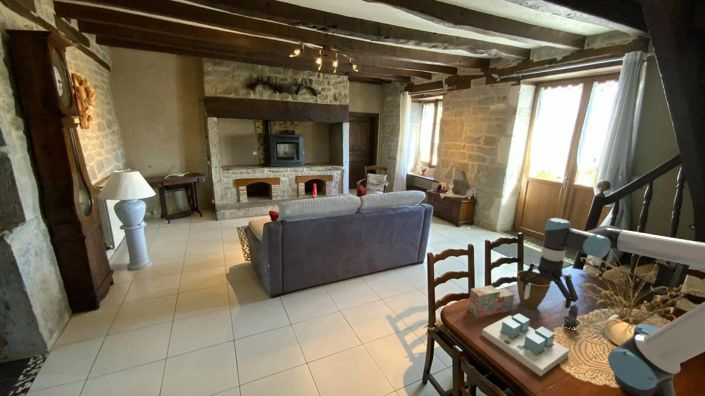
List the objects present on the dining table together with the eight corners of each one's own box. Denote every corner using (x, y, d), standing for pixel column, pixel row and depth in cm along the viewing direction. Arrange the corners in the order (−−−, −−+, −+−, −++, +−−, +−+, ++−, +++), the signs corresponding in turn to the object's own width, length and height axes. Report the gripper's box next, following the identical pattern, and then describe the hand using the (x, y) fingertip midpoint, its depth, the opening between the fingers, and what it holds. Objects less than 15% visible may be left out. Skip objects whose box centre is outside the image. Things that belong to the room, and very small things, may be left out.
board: (567, 356, 117) (569, 349, 116) (540, 376, 107) (542, 368, 106) (509, 320, 138) (510, 314, 137) (481, 334, 128) (482, 328, 127)
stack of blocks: (502, 303, 151) (506, 282, 148) (512, 311, 145) (515, 289, 142) (467, 310, 145) (470, 288, 142) (476, 317, 140) (479, 295, 137)
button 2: (528, 329, 127) (530, 319, 126) (521, 333, 125) (523, 323, 124) (517, 322, 131) (518, 313, 130) (510, 326, 129) (512, 316, 128)
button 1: (518, 334, 124) (520, 324, 123) (511, 338, 121) (513, 328, 120) (507, 327, 128) (509, 318, 127) (500, 331, 126) (502, 321, 124)
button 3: (543, 350, 115) (545, 339, 114) (536, 354, 113) (538, 343, 112) (530, 342, 120) (532, 331, 118) (523, 346, 117) (525, 335, 116)
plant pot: (506, 298, 156) (510, 271, 152) (529, 295, 158) (534, 269, 155) (527, 315, 141) (532, 286, 138) (553, 312, 144) (559, 283, 140)
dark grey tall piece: (580, 332, 131) (586, 308, 128) (566, 330, 132) (571, 307, 129) (573, 323, 136) (578, 301, 133) (559, 321, 137) (564, 299, 134)
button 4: (552, 343, 119) (554, 333, 118) (546, 348, 116) (548, 337, 115) (540, 336, 123) (542, 326, 122) (533, 340, 121) (535, 330, 119)
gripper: (595, 267, 105) (584, 318, 110) (523, 245, 125) (517, 289, 130) (587, 272, 101) (577, 325, 105) (514, 249, 121) (508, 294, 125)
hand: (543, 305), depth 118 cm, fingers open, 13 cm apart
